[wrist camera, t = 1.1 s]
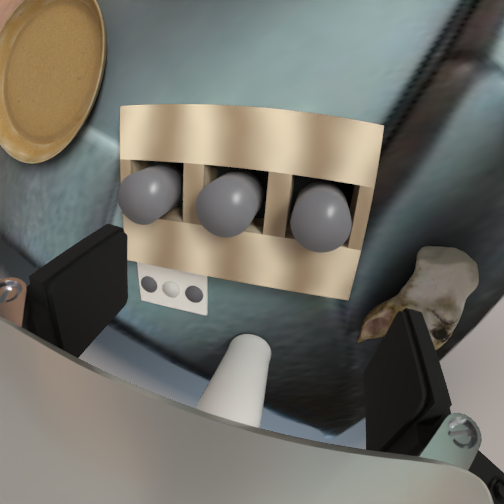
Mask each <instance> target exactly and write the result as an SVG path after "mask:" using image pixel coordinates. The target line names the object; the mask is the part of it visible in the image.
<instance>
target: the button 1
mask: <svg viewBox="0 0 504 504" xmlns="http://www.w3.org/2000/svg"><path fill="white" fill-rule="evenodd" d="M182 200H183V175H182V173H181V172H180V171H179V170H178V169H177V168H176V167H175V166H173V165H171V164H168V163H159V164H156V165H153V166H151V167H148V168H145V169H143V170H140V171H138V172H135V173H133V174H130V175H128V176H127V177H125V178H124V179H123V181H122V182H121V184H120V186H119V190H118V201H119V205H120V208H121V210H122V212H123V213H124V215H125V216H126V217H127V218H128V219H129V220H131V221H132V222H134V223H136V224H140V225H147V224H151V223H153V222H154V221H156V220H157V219H159V218H160V217H161V216H163V215H164V214H166V213H167V212H168V211H170V210H171V209H173V208H174V207H175V206H177V205H178V204H179V203H180V202H181V201H182Z"/></svg>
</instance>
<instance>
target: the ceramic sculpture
mask: <svg viewBox="0 0 504 504" xmlns="http://www.w3.org/2000/svg"><path fill="white" fill-rule="evenodd" d="M478 284H479V274H478V268H477V263H476V262H475V261H473V259H472V258H471V257H470V256H469V255H467V254H466V253H465V252H464V251H460V250H459V249H457V248H453V247H450V248H447V247H439V246H426V247H422V248H421V249H420V250H419V252H418V254H417V261H416V268H415V271H414V273H413V275H412V276H411V278H410V279H409V281H408V282H407V283H406V285H405V286H404V287H403V288H402V289H401V291H400V293H399V294H398V295H397V296H395V297H392V298H390V299H388V300H387V301H385V302H383V303H381V304H379V305H377V306H376V307H374V308H373V309H372V310H371V311H370V312H369V313H368V314H367V316H366V317H365V319H364V321H363V323H362V325H361V328H360V333H359V336H358V339H357V343H359V342H362V341H364V340H366V339H371V338H381V337H384V336H385V334H386V333H387V331H388V329H389V327H390V325H391V323H392V321H393V320H394V318H395V316H396V314H397V312H398V311H403V310H404V309H405V308H408V309H412V310H416V311H420V312H422V314H423V317H424V319H425V322H426V325H427V328H428V330H429V333H430V336H431V339H432V342H433V345H434V348H435V350H437V349H438V348H440V347H441V346H442V345H443V344H444V343H445V342H447V340H448V338H449V337H451V335H452V332H453V330H454V329H455V327H456V325H457V324H458V322H459V320H460V317H461V314H462V312H463V309H464V305H465V301H466V299H467V297H468V296H469V295H470V294H471V293H472V292H473V291H474V290H475V289H476V288H477V286H478Z"/></svg>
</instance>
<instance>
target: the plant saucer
mask: <svg viewBox="0 0 504 504" xmlns="http://www.w3.org/2000/svg"><path fill="white" fill-rule="evenodd" d="M106 53H107V35H106V27H105V22H104V18H103V14H102V11H101V9H100V7H99V5H98V3H97V1H96V0H23V1H22V2H21V3H20V4H19V5H18V6H17V7H16V9H15V10H14V11H13V12H12V14H11V15H10V17H9V18H8V19H7V21H6V22H5V24H4V26H3V27H2V29H1V31H0V145H1V146H2V148H3V149H4V150H5V151H6V152H7V153H8V154H9V155H10V156H12V157H13V158H15V159H17V160H19V161H21V162H24V163H40V162H44V161H46V160H49V159H51V158H52V157H54V156H56V155H57V154H58V153H60V152H61V151H62V150H63V149H64V148H65V147H66V146H67V145H68V144H69V143H70V142H71V141H72V140H73V139H74V137H75V136H76V135H77V134H78V132H79V131H80V129H81V128H82V126H83V125H84V123H85V121H86V120H87V118H88V116H89V114H90V112H91V110H92V108H93V105H94V103H95V100H96V98H97V95H98V92H99V89H100V86H101V82H102V79H103V74H104V69H105V62H106Z"/></svg>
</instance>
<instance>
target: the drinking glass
mask: <svg viewBox="0 0 504 504" xmlns="http://www.w3.org/2000/svg"><path fill="white" fill-rule="evenodd" d="M270 358H271V349H270V346H269V345H268V343H267V342H266V341H265V340H264V339H262V338H261V337H259V336H256V335H253V334H242V335H239V336H237V337H235V338H234V339H233V340H232V341H231V343H230V345H229V347H228V349H227V352H226V354H225V355H224V357H223V359H222V361H221V363H220V364H219V366H218V368H217V370H216V371H215V373H214V375H213V377H212V378H211V380H210V382H209V384H208V385H207V387H206V389H205V391H204V392H203V394H202V396H201V398H200V400H199V401H198V404H197V405H196V407H195V409H198V410H201V411H204V412H207V413H210V414H213V415H216V416H219V417H223V418H226V419H229V420H232V421H236V422H239V423H243V424H246V425H250V426H254V427H257V428H260V424H261V418H262V412H263V405H264V397H265V390H266V382H267V375H268V368H269V362H270Z"/></svg>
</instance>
